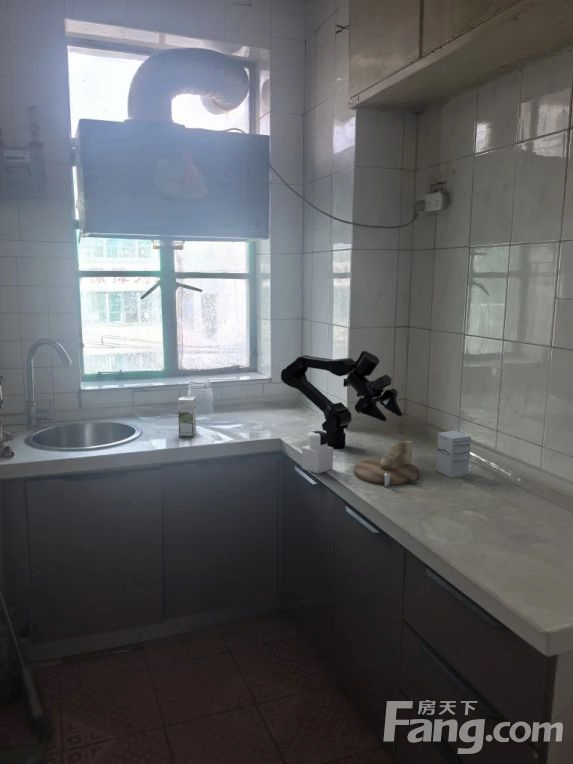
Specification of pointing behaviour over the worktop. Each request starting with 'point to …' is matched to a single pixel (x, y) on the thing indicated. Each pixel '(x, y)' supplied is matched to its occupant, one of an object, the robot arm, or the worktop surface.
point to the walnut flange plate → (379, 475)
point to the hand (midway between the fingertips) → (393, 417)
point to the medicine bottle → (317, 453)
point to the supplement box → (453, 453)
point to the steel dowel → (387, 480)
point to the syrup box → (187, 416)
